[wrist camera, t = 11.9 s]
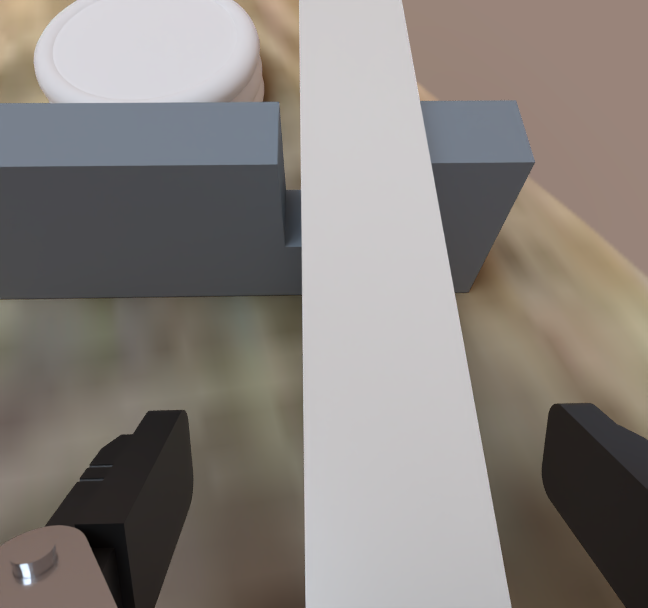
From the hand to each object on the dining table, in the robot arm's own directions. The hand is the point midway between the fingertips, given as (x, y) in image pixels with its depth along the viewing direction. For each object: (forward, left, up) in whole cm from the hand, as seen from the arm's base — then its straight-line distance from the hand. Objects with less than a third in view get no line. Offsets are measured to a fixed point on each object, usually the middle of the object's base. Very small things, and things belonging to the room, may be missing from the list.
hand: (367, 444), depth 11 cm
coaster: (-8, +19, -7) cm, 22 cm away
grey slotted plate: (-5, +9, -6) cm, 12 cm away
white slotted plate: (0, +5, -6) cm, 8 cm away
